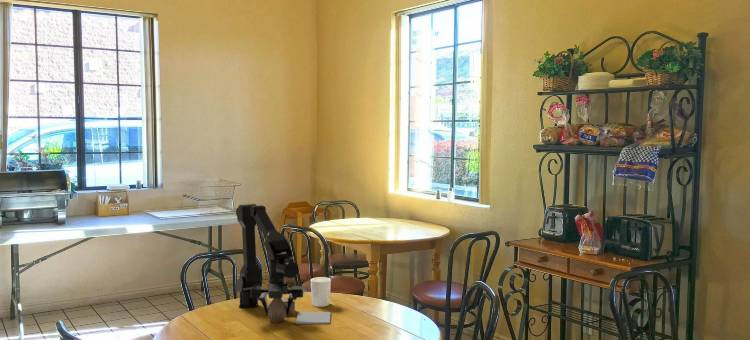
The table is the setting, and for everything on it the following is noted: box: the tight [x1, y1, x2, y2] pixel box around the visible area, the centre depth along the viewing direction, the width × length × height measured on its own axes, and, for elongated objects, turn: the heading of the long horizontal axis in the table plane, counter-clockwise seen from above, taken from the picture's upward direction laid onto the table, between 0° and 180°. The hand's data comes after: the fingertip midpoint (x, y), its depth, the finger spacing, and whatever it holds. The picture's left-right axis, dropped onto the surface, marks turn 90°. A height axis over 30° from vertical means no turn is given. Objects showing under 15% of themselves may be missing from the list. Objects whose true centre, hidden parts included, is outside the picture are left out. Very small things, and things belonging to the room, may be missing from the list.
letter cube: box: [281, 297, 296, 315], centre depth 236 cm, size 5×5×5 cm
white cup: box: [310, 276, 332, 308], centre depth 247 cm, size 8×8×10 cm
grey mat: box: [295, 311, 331, 325], centre depth 229 cm, size 12×12×1 cm
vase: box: [268, 298, 287, 323], centre depth 226 cm, size 7×7×9 cm
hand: (277, 315), depth 226 cm, fingers closed on vase, 7 cm apart
